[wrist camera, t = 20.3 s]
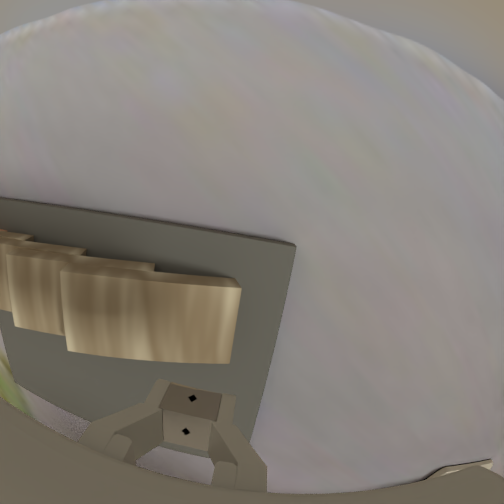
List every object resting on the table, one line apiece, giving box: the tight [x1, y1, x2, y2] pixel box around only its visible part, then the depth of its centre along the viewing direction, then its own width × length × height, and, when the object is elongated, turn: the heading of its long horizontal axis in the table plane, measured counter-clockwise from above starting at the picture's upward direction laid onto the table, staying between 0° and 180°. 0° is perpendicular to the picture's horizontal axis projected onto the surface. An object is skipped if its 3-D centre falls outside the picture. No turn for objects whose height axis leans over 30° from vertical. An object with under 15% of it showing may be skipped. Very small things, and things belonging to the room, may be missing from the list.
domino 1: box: [0, 237, 87, 312], centre depth 15 cm, size 2×5×10 cm
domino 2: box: [6, 248, 155, 336], centre depth 16 cm, size 2×5×10 cm
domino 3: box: [60, 263, 242, 364], centre depth 15 cm, size 2×5×10 cm
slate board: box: [0, 198, 296, 458], centre depth 19 cm, size 26×20×1 cm
